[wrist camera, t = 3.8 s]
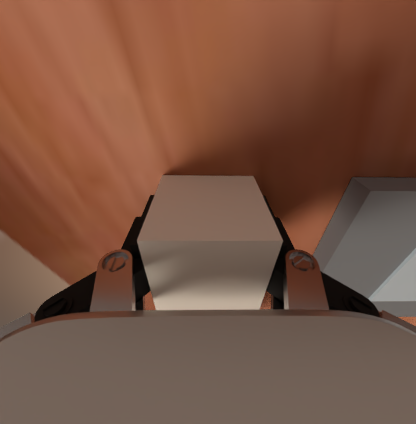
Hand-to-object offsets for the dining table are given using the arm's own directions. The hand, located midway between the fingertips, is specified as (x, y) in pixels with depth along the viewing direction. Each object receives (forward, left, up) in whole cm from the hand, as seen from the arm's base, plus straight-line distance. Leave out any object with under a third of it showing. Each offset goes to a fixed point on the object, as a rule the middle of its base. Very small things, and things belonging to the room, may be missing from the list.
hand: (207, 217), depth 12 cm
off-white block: (0, 0, -1) cm, 1 cm away
